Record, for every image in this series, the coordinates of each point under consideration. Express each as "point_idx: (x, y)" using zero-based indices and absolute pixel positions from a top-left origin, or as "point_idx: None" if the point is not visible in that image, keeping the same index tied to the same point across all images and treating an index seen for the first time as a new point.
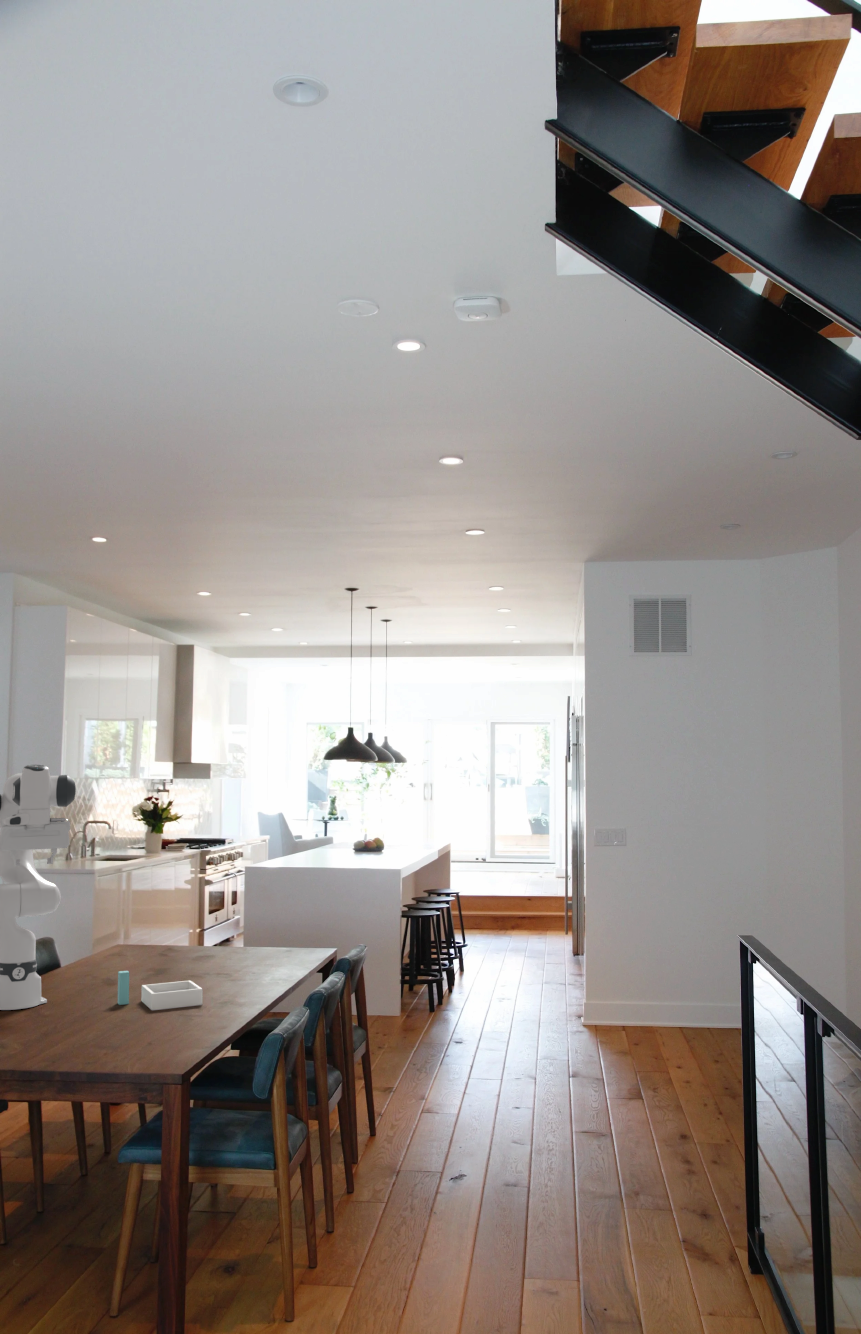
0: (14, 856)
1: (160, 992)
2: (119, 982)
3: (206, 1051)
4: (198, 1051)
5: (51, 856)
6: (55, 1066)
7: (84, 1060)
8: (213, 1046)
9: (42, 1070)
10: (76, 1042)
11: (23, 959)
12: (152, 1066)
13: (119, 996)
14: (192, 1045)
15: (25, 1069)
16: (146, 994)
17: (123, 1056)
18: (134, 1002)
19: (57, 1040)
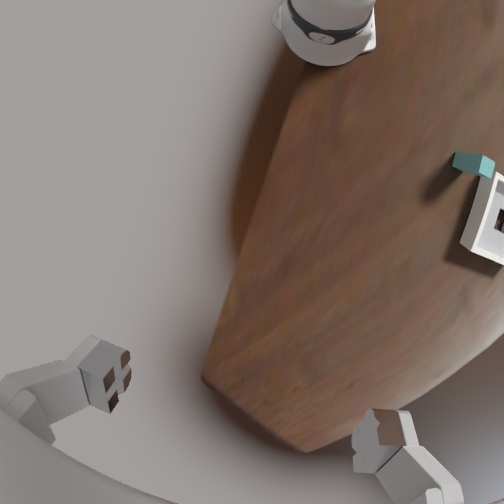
0: (58, 417)
1: (482, 251)
2: (470, 169)
3: None
4: None
5: (387, 480)
6: (237, 392)
7: (267, 394)
8: None
9: (223, 394)
10: (296, 333)
11: (335, 27)
12: (302, 435)
13: (458, 167)
14: None
15: (211, 383)
16: (481, 208)
17: (302, 404)
18: None
19: (283, 309)
